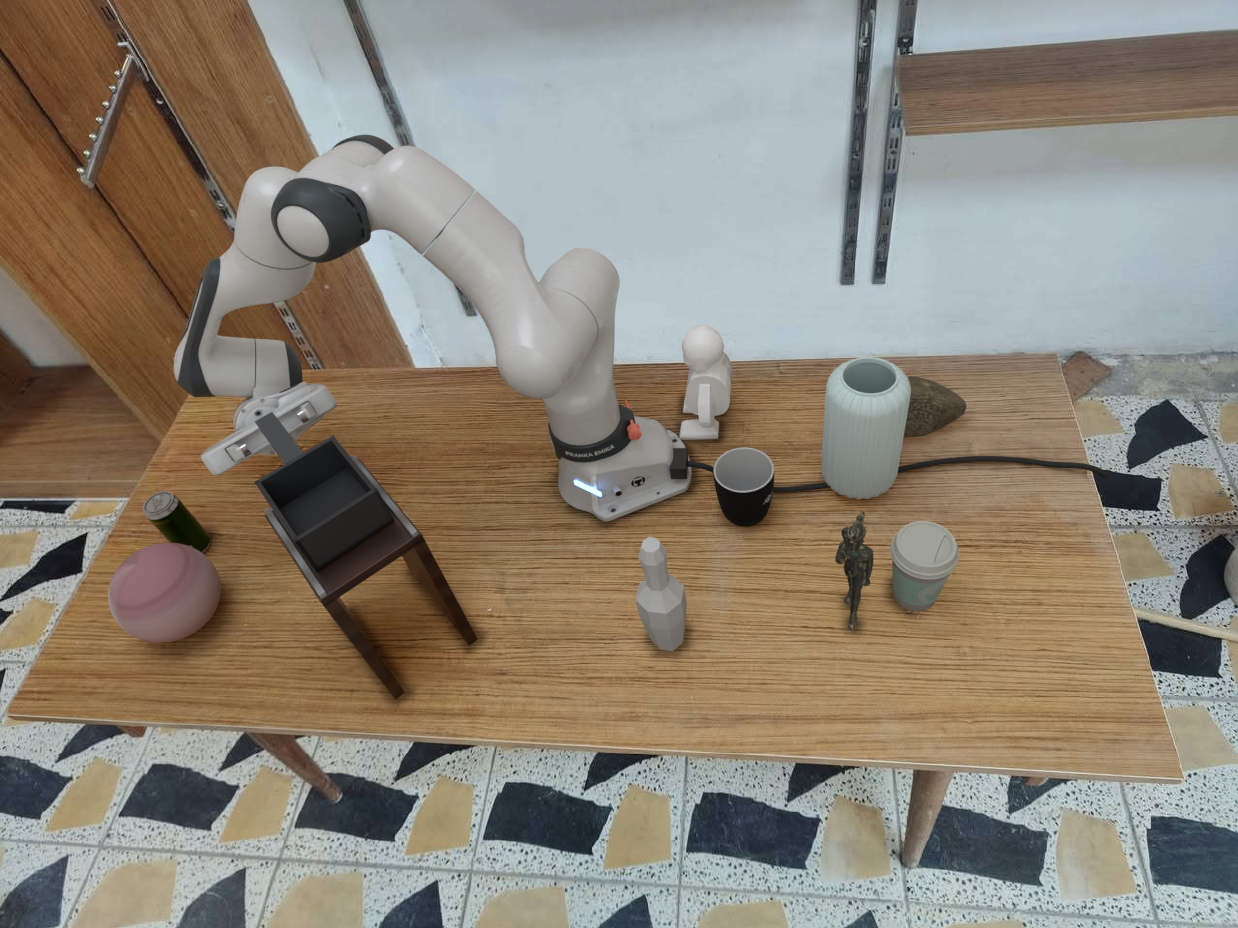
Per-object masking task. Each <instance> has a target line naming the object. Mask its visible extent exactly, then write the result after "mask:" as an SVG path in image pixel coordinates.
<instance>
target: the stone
mask: <svg viewBox="0 0 1238 928" xmlns="http://www.w3.org/2000/svg"><path fill="white" fill-rule="evenodd" d="M907 377H908V380H909V384H910V386H911V395H910V401H909V407H908V413H907V419H906V425H905V431H904V437H907V438H917V437H925V436H927V435H930V434H933V433H936V432H938V431H940V430H942V429H943V428H945V427H947V426H948V425H950V424H952V423H953V422H955V421H957V420H958V419H960V418H961V417H962V416H964V415H965V413H966V410H967V408H968V407H967V403H966V401H965V400H964V399H963V398H962V397H961V396H960V395H959V394H958V393H957V392H955V391H953V390H951V389H950V388H948V387H946V386H944V385H942V384H940V383H938V382H936V381H934V380H930V379H928V378H924V377H920V376H916V375H910V376H907Z"/></svg>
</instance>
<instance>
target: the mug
mask: <svg viewBox="0 0 1238 928" xmlns="http://www.w3.org/2000/svg"><path fill="white" fill-rule="evenodd" d="M713 467H714V469H713V473H712V475H713V483H714V489H715V493H716V498H717V501H718V504H719V507H720V510H721V512H722V514H723V515H724V517H725V518H726V520H727V521H729V523H731V524H732V525H735V526H737V527H741V528H750V527H753V526H756V525H758V524H760V523H761V522H763V520H764V519H765V518H766V517H767V514H768V513H769V511H770V507H771V504H772V500H773V494H774V493H773V487H775V465H774V462H773V461H772V459H771V457H770V456H769V455H767V453H765V452H763V451H762V450H759V449H757V448H753V447H744V446H743V447H736V448H733V449H729V450H727V451H725V452H723V453H722V454H721V455H720V456H719V457H718V458H717V459H716V461H715V462H714V465H713Z"/></svg>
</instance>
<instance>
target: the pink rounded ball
mask: <svg viewBox="0 0 1238 928" xmlns="http://www.w3.org/2000/svg"><path fill="white" fill-rule="evenodd" d="M108 585H109V586H108V590H107V601H108V607H109V611H110V613H111V615H112V617H113V619H114V620H115V622H116V624H117V625H118V626H119V627H120V628H121V629H122V630H123V631H125V632H126V633H127V634H129V635H130V636H132V637H134V638H136V639H138V640H141V641H145V642H150V643H158V644H159V643H161V644H163V643H171V642H172V643H173V642H176V641H180V640H183V639H185V638H188V637H190V636H192V635H194V634H195V633H196V632H198V631H199V630H201V629H202V628H203V627H204V626H205V625H206V624H207V623H208V622H209V621H210V620H211V618H212V617H213V616H214V614H215V612H216V611H217V609H218V606H219V603H220V600H221V592H222V586H221V585H222V584H221V579H220V575H219V572H218V570H217V568H216V567H215V565H214V563H213V562H212V561H211V560H210V558H208V557H207V556H206V555H205V553H201V552H200V551H198V550H196V549H194V548H192V547H190V546H187V545H183V544H178V543H170V542H161V543H160V542H159V543H154V544H150V545H147V546H145V547H143V548H140V549H138V550H136V551H134V552H133V553H131V554H130V555H129V556H127V557H126V558H125V559H124V560H123V561H122V562H121V563H120V564H119V565H118V567H117V568H116V570H115V571H114V573H113V575H112V577H111V580H110V582H109V584H108Z"/></svg>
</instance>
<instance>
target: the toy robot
mask: <svg viewBox="0 0 1238 928" xmlns="http://www.w3.org/2000/svg"><path fill="white" fill-rule="evenodd" d="M724 349H725V345H724V340H723V337H722V335H721V333H720V332H719V331H718V330H717V329H715V327H713V326H711V325H709V324H697V325H696V326H693V327H692V328H690V329H689V330H688V331H687V332H686V333H685V334H684V336H683V338H682V341H681V350H682V358H683V362H684V364H685V365H686V366H687V367H688V374H687V382H686V389H685V396H684V400H683V408H682V414H693V415H695V416H698V418H696V419H686V420H683V421H681V423H680V429H679V435H678V437H679V438H680V439H681V441H696V440H697V441H698V440H699V441H700V440H719V433H720V432H719V431H720V421H719V420H717V419H716V418H715V417H717V416H722V415H723V414H725V413H726V412H727V411H728V409H729V408H730V402H731V391H732V378H733V366H732V362H731V359H730V358H729V356H728V354H727V353H726V352H725V351H724Z"/></svg>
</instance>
